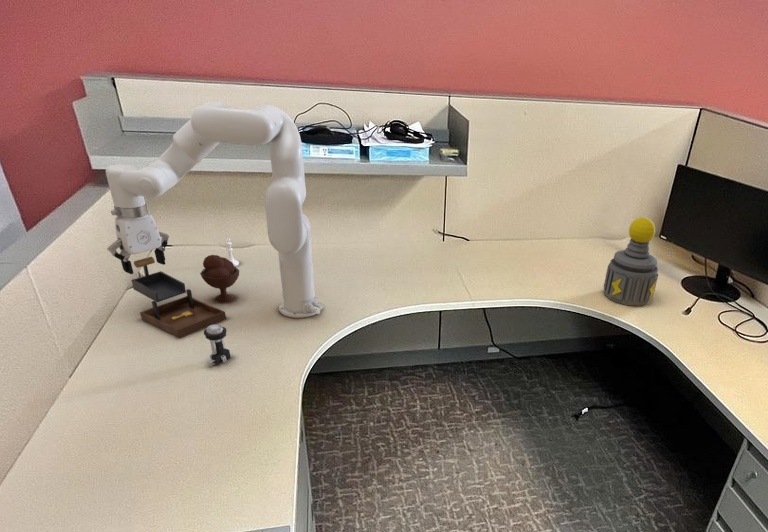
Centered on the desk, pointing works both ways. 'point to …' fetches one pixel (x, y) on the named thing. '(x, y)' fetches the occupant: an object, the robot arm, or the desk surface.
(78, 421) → the desk surface
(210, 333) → the push button
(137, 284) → the scoop
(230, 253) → the chess piece
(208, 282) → the ice cream bowl
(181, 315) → the key
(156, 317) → the tray
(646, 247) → the decorative lamp
